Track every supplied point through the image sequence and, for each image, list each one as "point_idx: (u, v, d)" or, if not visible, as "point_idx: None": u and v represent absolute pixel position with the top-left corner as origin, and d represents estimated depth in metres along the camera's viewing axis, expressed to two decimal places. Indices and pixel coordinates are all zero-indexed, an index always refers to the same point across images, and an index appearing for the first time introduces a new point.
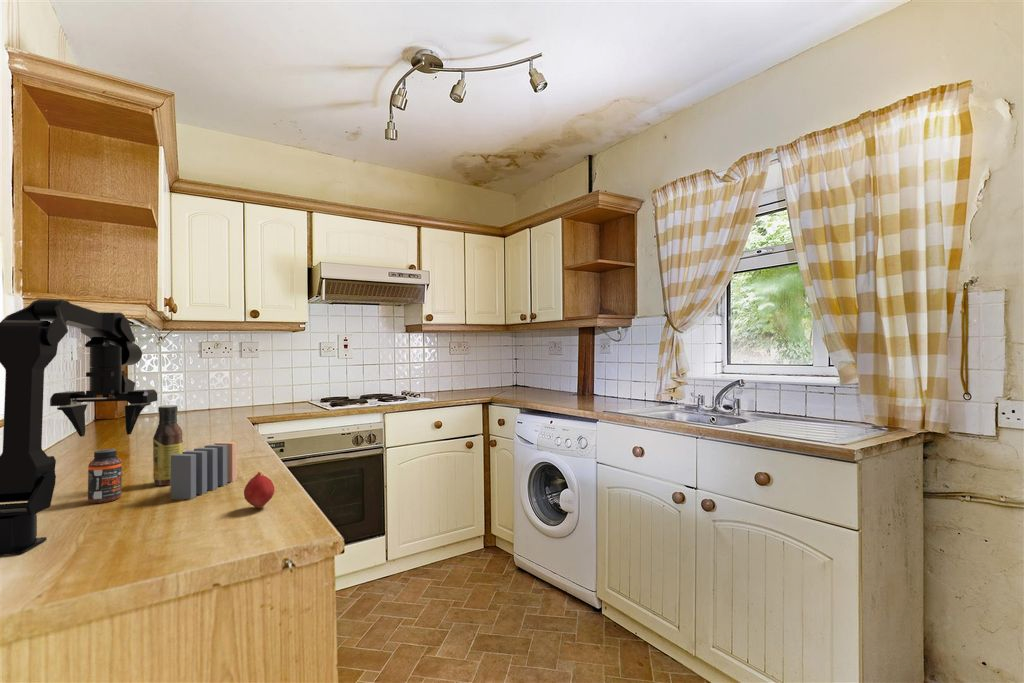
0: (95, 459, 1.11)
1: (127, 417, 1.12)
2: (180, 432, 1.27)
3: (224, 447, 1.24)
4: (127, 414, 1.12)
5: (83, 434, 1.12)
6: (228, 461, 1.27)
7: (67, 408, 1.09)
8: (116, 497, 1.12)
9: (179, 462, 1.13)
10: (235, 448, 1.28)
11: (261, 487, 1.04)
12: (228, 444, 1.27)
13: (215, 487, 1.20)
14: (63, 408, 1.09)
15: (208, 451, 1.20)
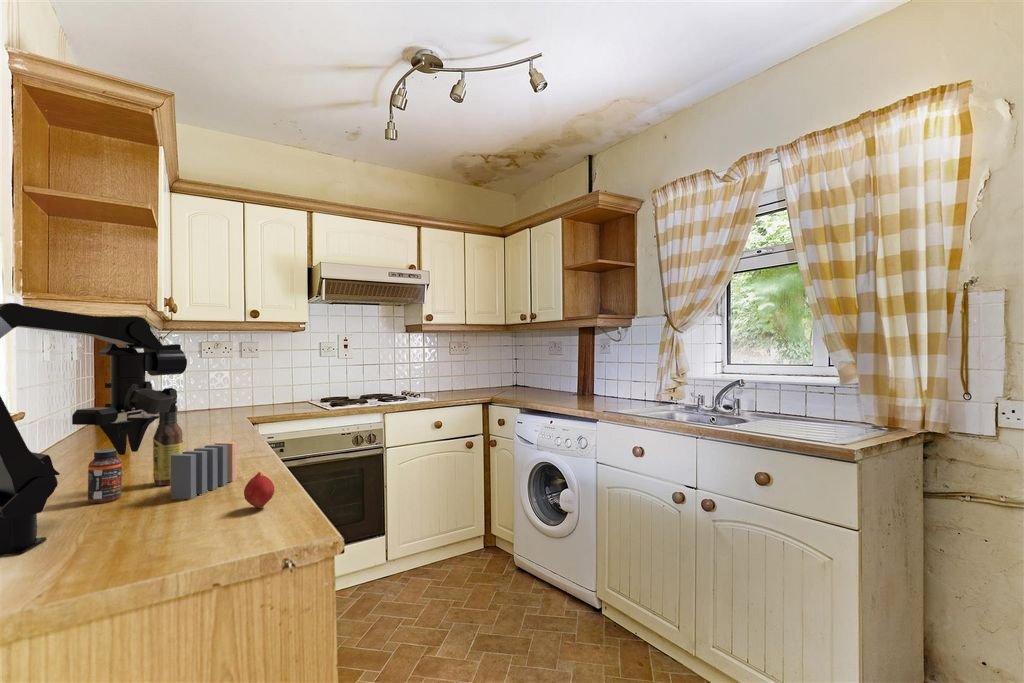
0: (95, 459, 1.11)
1: None
2: (180, 432, 1.27)
3: (224, 447, 1.24)
4: None
5: (133, 449, 1.03)
6: (228, 461, 1.27)
7: None
8: (116, 497, 1.12)
9: (179, 462, 1.13)
10: (235, 448, 1.28)
11: (261, 487, 1.04)
12: (228, 444, 1.27)
13: (215, 487, 1.20)
14: None
15: (208, 451, 1.20)
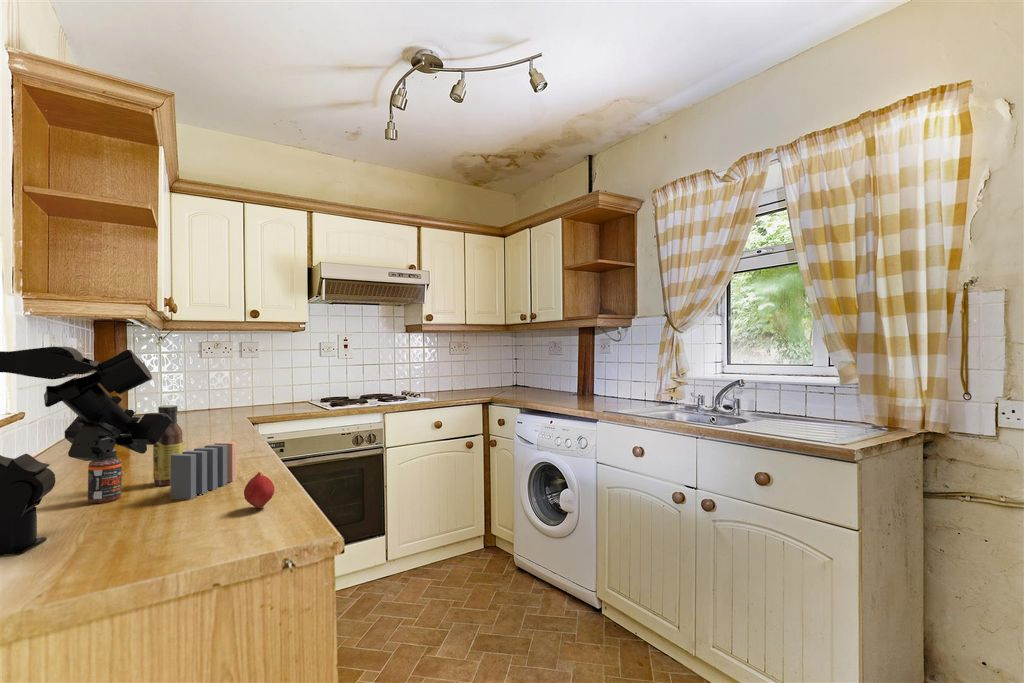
0: None
1: None
2: (180, 432, 1.27)
3: (224, 447, 1.24)
4: None
5: None
6: (228, 461, 1.27)
7: None
8: (116, 497, 1.12)
9: (179, 461, 1.13)
10: (235, 448, 1.28)
11: (261, 487, 1.04)
12: (228, 444, 1.27)
13: (215, 487, 1.20)
14: None
15: (208, 451, 1.20)
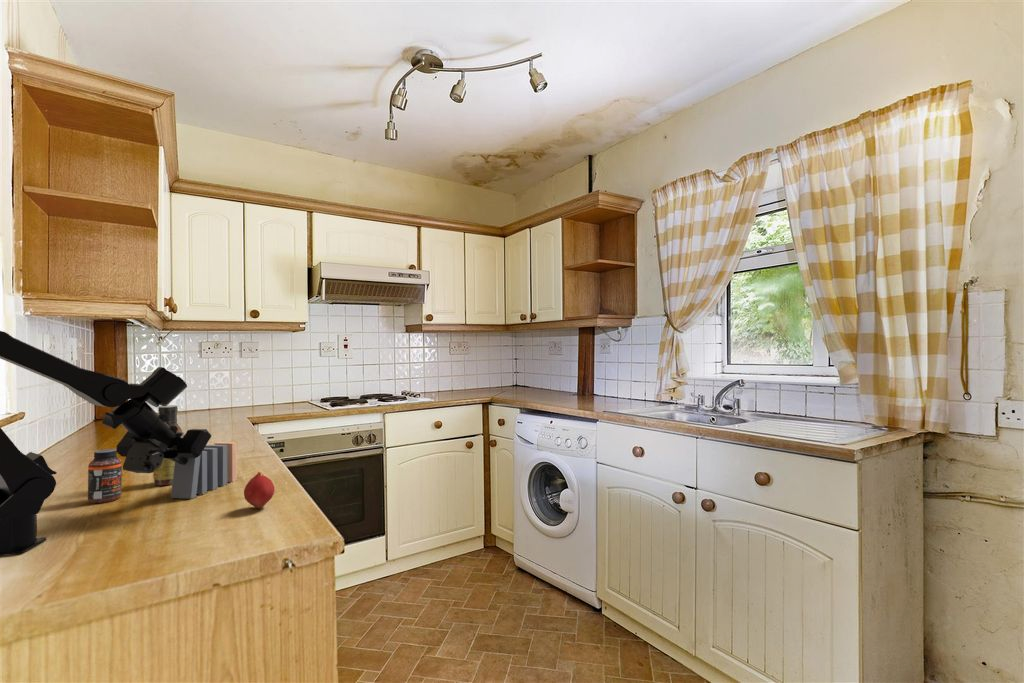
0: (95, 459, 1.11)
1: None
2: None
3: (224, 447, 1.24)
4: None
5: None
6: (228, 461, 1.27)
7: None
8: (116, 497, 1.12)
9: None
10: (235, 448, 1.28)
11: (261, 487, 1.04)
12: (228, 444, 1.27)
13: (215, 487, 1.20)
14: None
15: (208, 451, 1.20)
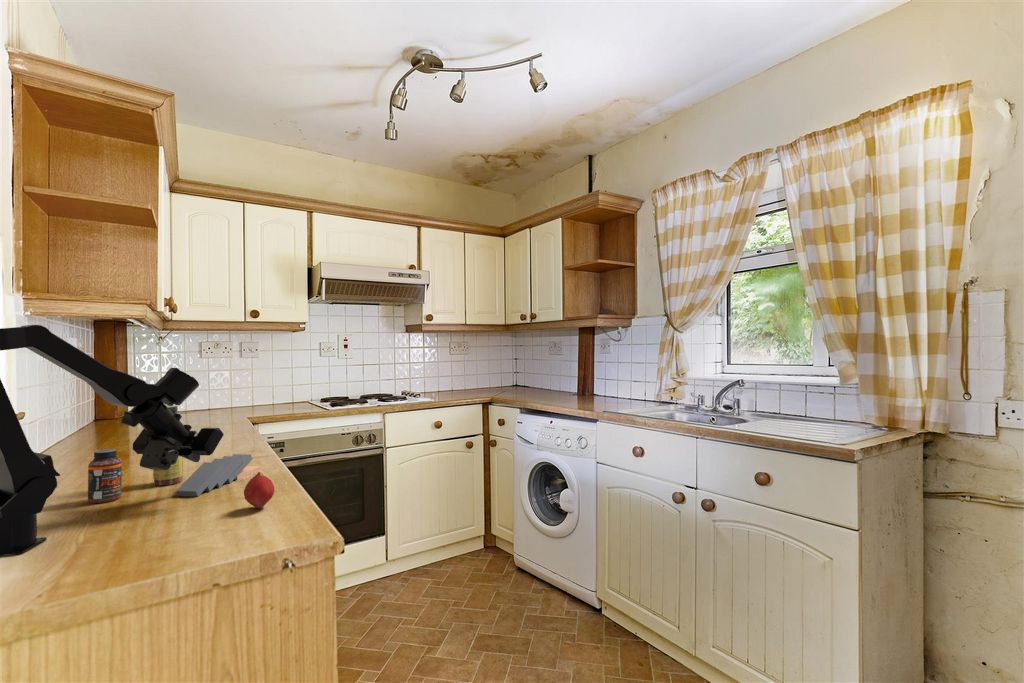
0: (95, 459, 1.11)
1: None
2: None
3: (250, 457, 1.34)
4: None
5: None
6: (247, 470, 1.34)
7: None
8: (116, 497, 1.12)
9: (208, 466, 1.22)
10: (257, 471, 1.37)
11: (261, 487, 1.04)
12: (257, 466, 1.38)
13: (220, 483, 1.22)
14: None
15: (236, 457, 1.30)
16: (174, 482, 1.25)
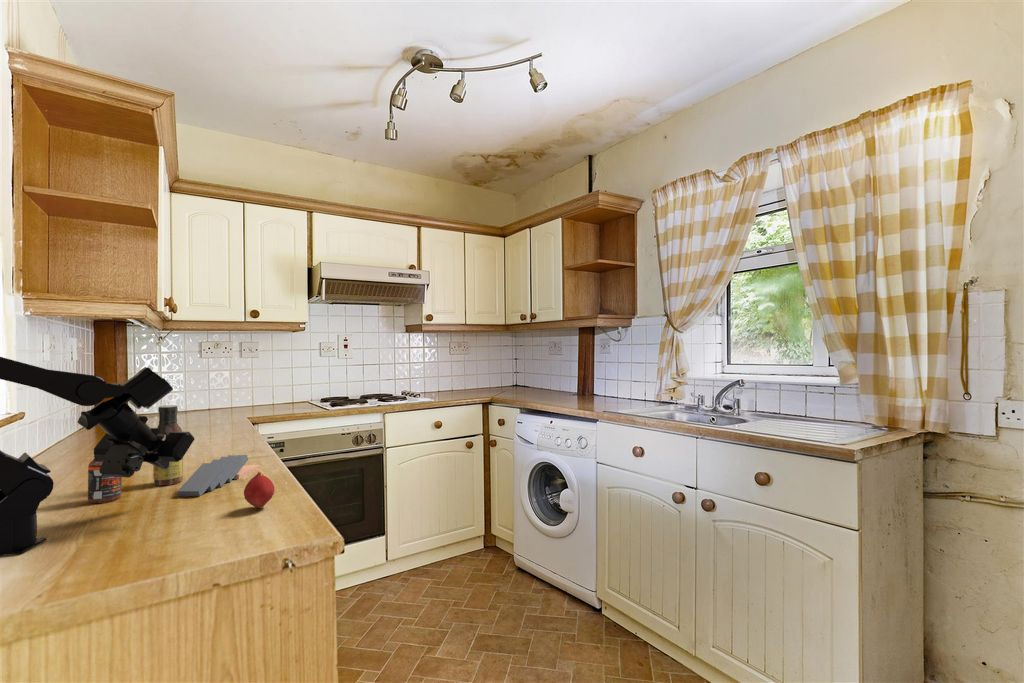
0: (95, 459, 1.11)
1: None
2: None
3: (246, 457, 1.35)
4: None
5: None
6: (246, 469, 1.35)
7: None
8: (116, 497, 1.12)
9: (207, 467, 1.22)
10: (256, 470, 1.38)
11: (261, 487, 1.04)
12: (255, 465, 1.39)
13: (221, 482, 1.23)
14: None
15: (235, 458, 1.30)
16: (174, 482, 1.25)
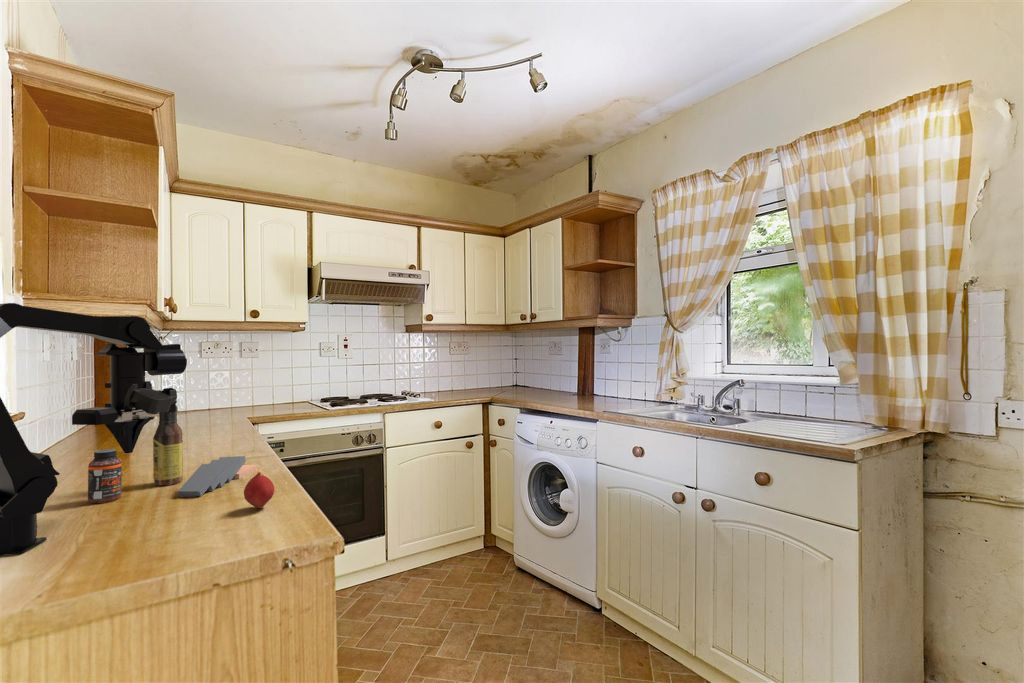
0: (95, 459, 1.11)
1: None
2: (180, 432, 1.27)
3: (244, 458, 1.35)
4: None
5: None
6: (245, 468, 1.35)
7: None
8: (116, 497, 1.12)
9: (207, 467, 1.22)
10: None
11: (261, 487, 1.04)
12: (254, 465, 1.40)
13: (221, 482, 1.23)
14: None
15: (234, 458, 1.30)
16: (174, 482, 1.25)
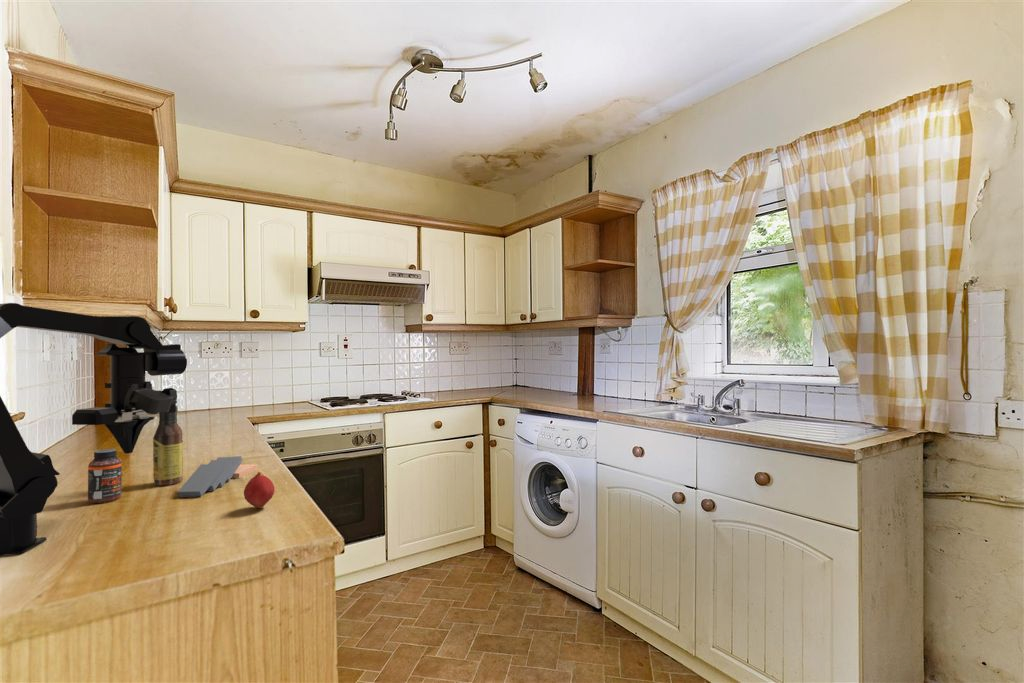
0: (95, 459, 1.11)
1: None
2: (180, 432, 1.27)
3: (241, 458, 1.36)
4: None
5: None
6: (245, 468, 1.36)
7: None
8: (116, 497, 1.12)
9: (206, 468, 1.22)
10: (255, 469, 1.39)
11: (261, 487, 1.04)
12: (253, 464, 1.40)
13: (222, 482, 1.23)
14: None
15: (232, 458, 1.31)
16: (174, 482, 1.25)
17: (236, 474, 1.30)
